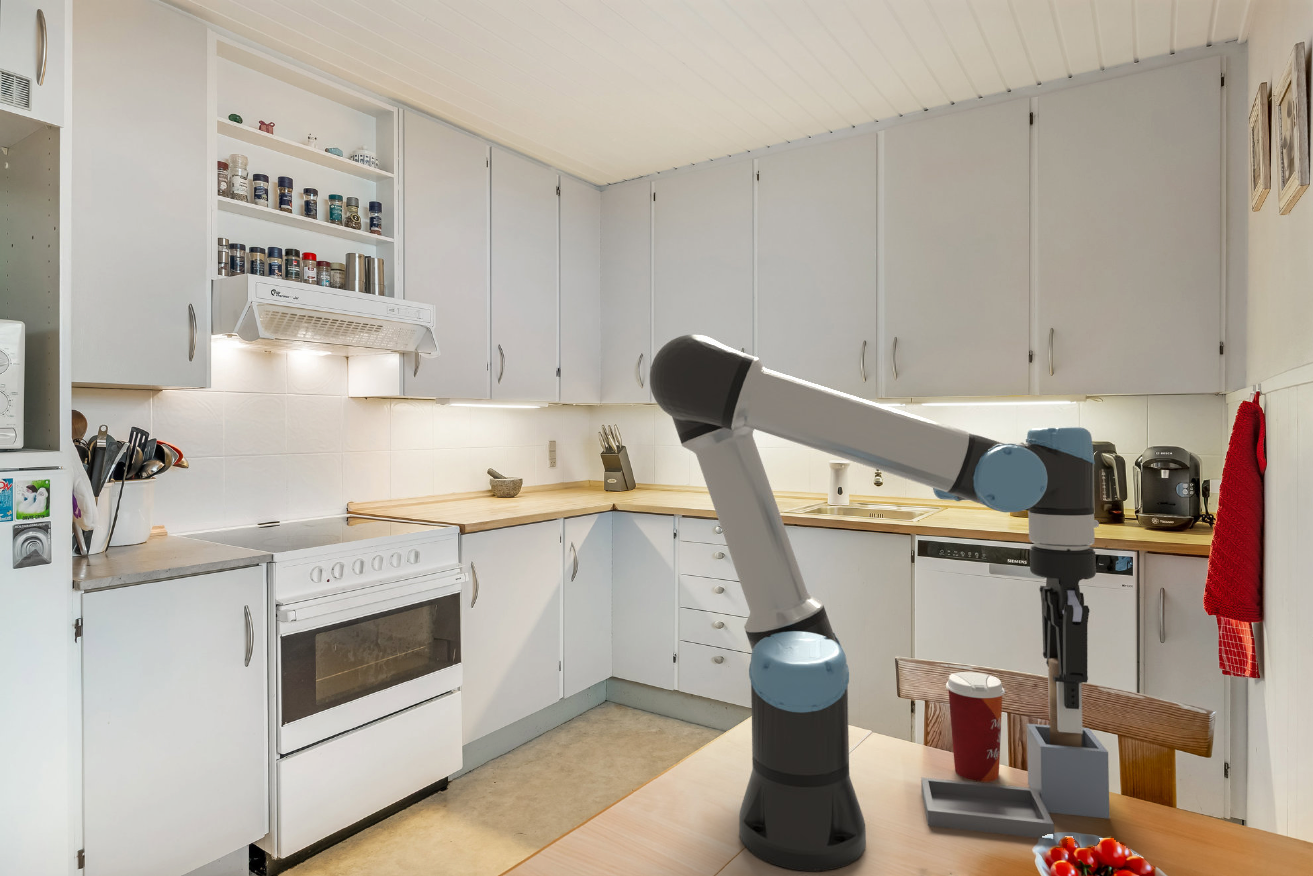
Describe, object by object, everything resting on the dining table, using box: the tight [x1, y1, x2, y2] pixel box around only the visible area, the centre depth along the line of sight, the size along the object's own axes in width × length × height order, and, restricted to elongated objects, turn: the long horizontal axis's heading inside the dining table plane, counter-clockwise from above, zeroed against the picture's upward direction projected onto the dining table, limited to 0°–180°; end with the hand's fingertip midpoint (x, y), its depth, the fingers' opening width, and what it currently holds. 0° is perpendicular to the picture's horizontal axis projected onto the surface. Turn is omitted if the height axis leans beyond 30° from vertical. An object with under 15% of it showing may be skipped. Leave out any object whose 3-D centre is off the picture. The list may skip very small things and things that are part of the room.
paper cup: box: [945, 671, 1006, 783], centre depth 103 cm, size 8×8×14 cm
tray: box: [920, 777, 1055, 839], centre depth 92 cm, size 14×9×3 cm, turn 75°
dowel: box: [1048, 658, 1082, 747], centre depth 95 cm, size 4×4×18 cm
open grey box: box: [1026, 723, 1110, 820], centre depth 95 cm, size 8×8×9 cm
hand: (1065, 724), depth 95 cm, fingers closed on dowel, 3 cm apart
